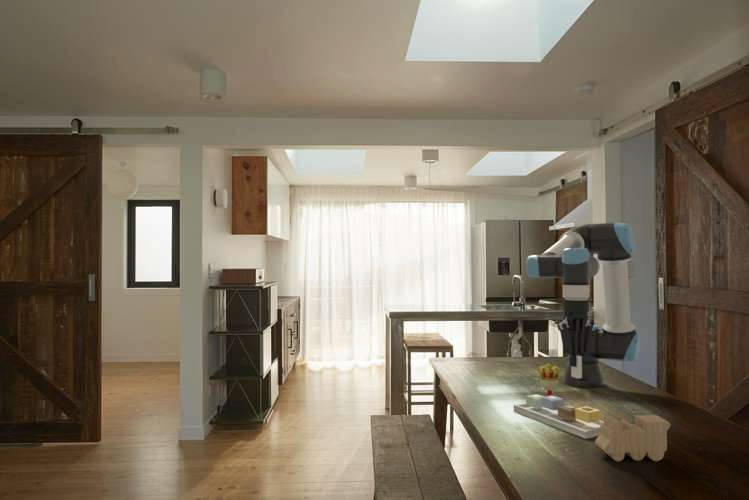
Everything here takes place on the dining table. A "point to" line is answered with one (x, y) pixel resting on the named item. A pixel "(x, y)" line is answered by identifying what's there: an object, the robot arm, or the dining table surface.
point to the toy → (549, 378)
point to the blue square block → (551, 402)
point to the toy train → (634, 437)
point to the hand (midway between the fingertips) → (576, 377)
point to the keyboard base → (561, 421)
